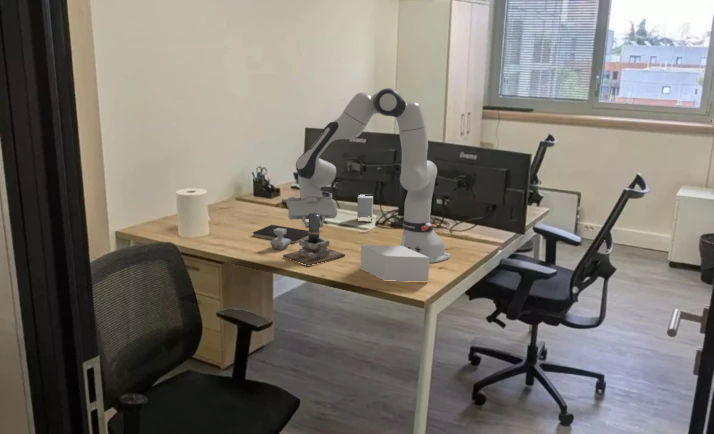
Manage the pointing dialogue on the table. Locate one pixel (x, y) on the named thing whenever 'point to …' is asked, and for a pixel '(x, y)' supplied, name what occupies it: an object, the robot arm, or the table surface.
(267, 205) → the table surface
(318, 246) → the collar stand
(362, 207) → the supplement box
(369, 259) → the grey wedge block
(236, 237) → the table surface
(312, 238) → the tube
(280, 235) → the stamp
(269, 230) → the hardcover book
